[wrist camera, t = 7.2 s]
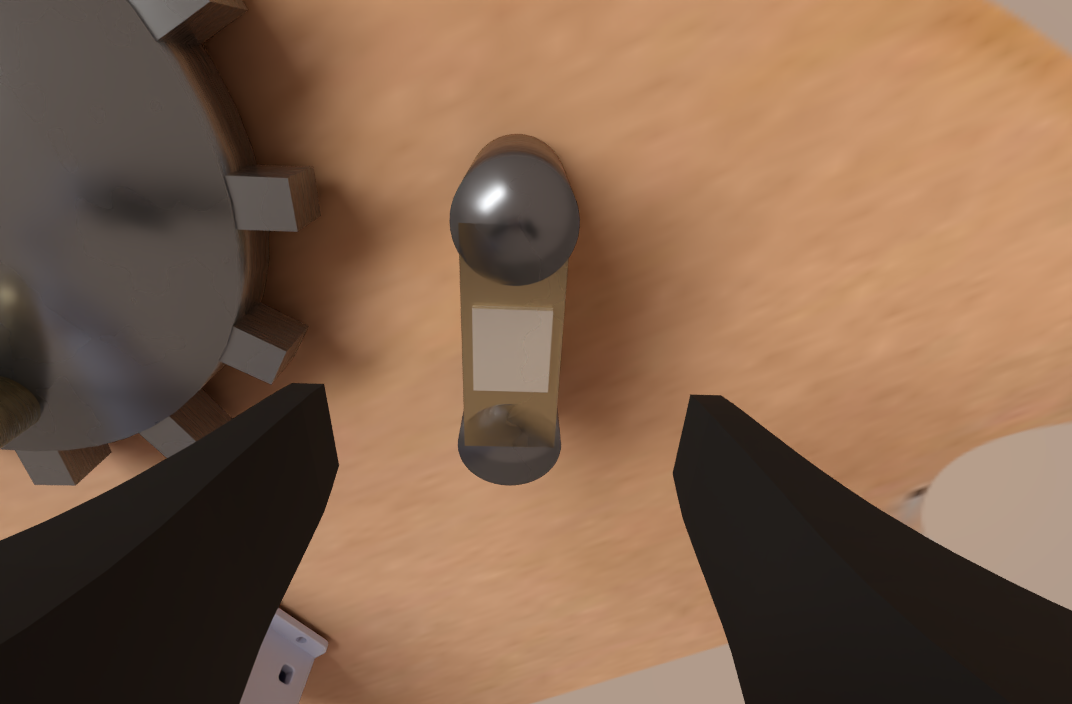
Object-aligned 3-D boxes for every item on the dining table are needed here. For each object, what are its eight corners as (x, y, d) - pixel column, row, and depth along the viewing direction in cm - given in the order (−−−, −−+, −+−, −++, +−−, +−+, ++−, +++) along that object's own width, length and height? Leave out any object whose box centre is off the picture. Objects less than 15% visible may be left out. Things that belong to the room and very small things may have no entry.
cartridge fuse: (467, 131, 15) (446, 154, 11) (569, 136, 15) (586, 161, 11) (472, 400, 20) (458, 489, 15) (551, 403, 20) (557, 491, 16)
